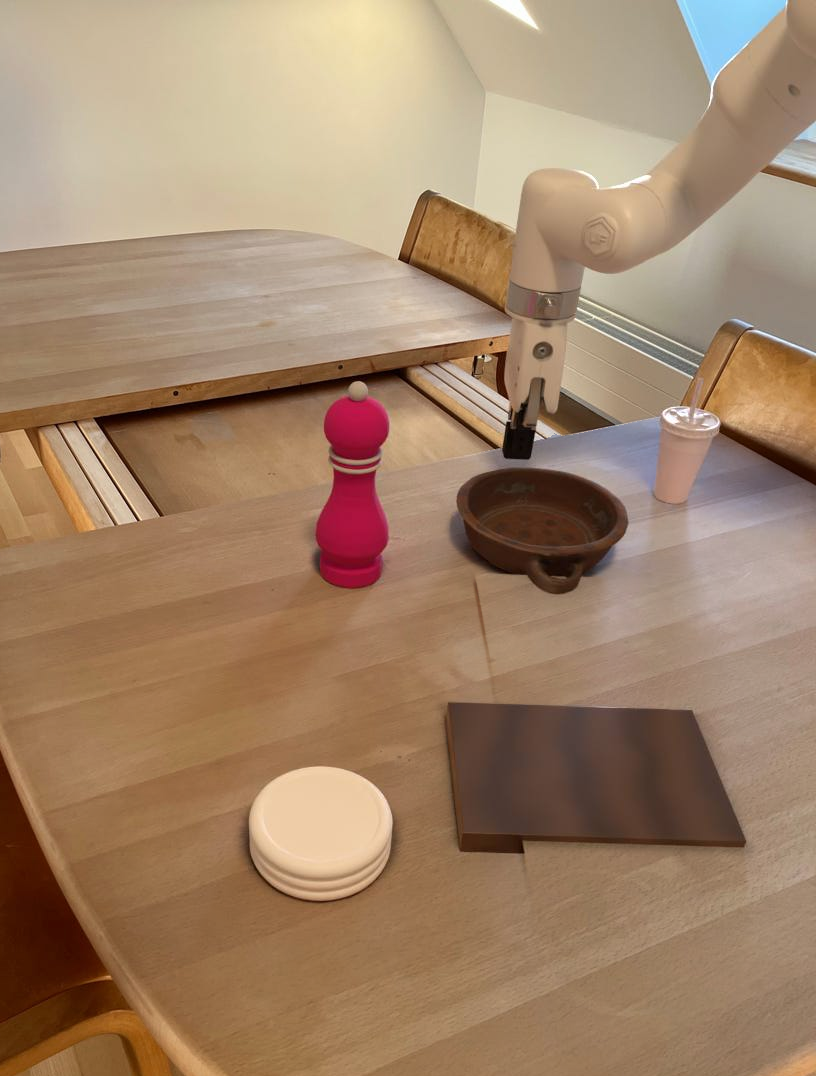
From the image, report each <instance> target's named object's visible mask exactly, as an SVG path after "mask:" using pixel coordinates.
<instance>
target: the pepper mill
mask: <svg viewBox="0 0 816 1076" xmlns="http://www.w3.org/2000/svg"><path fill="white" fill-rule="evenodd" d="M347 394H348V395H345V396H342V397H341V398H338V399H336V400H335V401H334V402H333V403H332V404H331V405H330V406H329V408H328V409H327V411H326V413H325V416H324V420H323V421H324V422H323V432H324V436H325V439H326V440H327V442H328V443H329V444H330V446H329V447H328V454H329V455H328V458H327V459H328V464H329V465H330V466H331V468H332V472H333V480H332V488H331V491H330V495H329V497H328V499H327V501H326V503H325V504H324V506H323V507H322V509H321V512H320V514H319V516H318V519H317V521H316V527H315V535H314V536H315V542H316V544H317V546H318V548H319V549H320V550H321V552H320V555H319V573H320V575H321V576H322V577H323V579H324V580H325V581H327V582H328V583H330V584H332V585H334V586H337V587H340V588H347V589H348V588H349V589H356V588H363V587H367V586H370V585H372V584H374V583H375V582H376V581H378V580H379V579H380V577H381V575H382V570H383V555H382V553H383V552H384V551H385V549H386V548H387V546H388V544H389V539H390V531H389V523H388V520H387V516H386V513H385V510H384V508H383V506H382V504H381V501H380V499H379V496H378V493H377V489H376V488H377V487H376V475H377V470H378V469H379V468H380V467H381V466H382V464H383V459H382V456H383V454H384V452H383V448H382V446H383V445H384V443H385V442H386V441H387V439H388V436H389V433H390V419H389V414H388V412H387V409H386V408H385V407H384V406H383V405H382V403H380V402H379V401H378V400H376V399H375V398H373V397H370V396H369V395H368V394H369V389H368V387H367V385H366V384H365V383H364V382H362V381H360V380H359V381H358V380H357V381H354V382H352V383H351V384H350V385H349V386H348V391H347Z"/></svg>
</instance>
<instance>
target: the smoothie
mask: <svg viewBox="0 0 816 1076" xmlns="http://www.w3.org/2000/svg"><path fill="white" fill-rule="evenodd" d="M703 382H704V378H703V377H698V378H697V380H696V386H695V389H694V393H693V397H692V400H691V404H690V406H673V407H669V408H666V409H664V410H663V411H662V412H661V414H660V415H661V416H660V418H659V426H660V427H661V429H660V435H659V446H658V454H657V462H656V463H657V464H656V470H655V471H656V472H655V480H654V481H655V482H654V488H653V489H654V491H653V496H654V497H655V498H656V499H657V500H659V501H661V502H663V503H666V504H672V505H678V504H679V505H680V504H683V503H685V502H687V500H688V498H689V495H690V493H691V490H692V488H693V485H694V483H695V481H696V478H697V476H698V475H699V471H700V469H701V467H702V465H703V462H704V460H705V458H706V457H707V456H706V455H707V454H708V451H709V449H710V446H711V445H712V442H713V439H714V437H716V436H717V435H718V434H719V433H720V427H721V424H722V423H721V420H720V419H719V417H717V416H716V415H715V414H714V413H711V412H710V411H707V410H704V409H701V408H697V404H698V401H699V398H700V394H701V390H702V386H703V384H704V383H703Z"/></svg>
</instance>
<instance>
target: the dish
mask: <svg viewBox="0 0 816 1076" xmlns="http://www.w3.org/2000/svg"><path fill="white" fill-rule="evenodd" d="M456 508H457V511H458V513H459V515H460V516H461V518H462V522H463V527H464V532H465V534H466V538H467V540H468V542H469V544H470V545H471V547H472V548H473V549H474V551H475V552H476V553H478V554H479V555H480V556H481V557H482V558H484V560H486V561H488V562H489V563H490V564H492V565H493V566H495V567H497V568H499V569H501V570H504V571H507V572H509V573H511V574H514V575H517V576H528V577H529V578H530V580H531V581H532V582H533V584H534V585H536V587H538V588H539V589H540V590H542V591H544V592H545V593H548V594H551V595H563V594H566V593H570V592H572V591H573V590H575V589H576V588H577V587H578V585H579V584H580V581H581V578H582V574H585V573H586V572H588V571H590V570H591V569H593V568H594V567H596V566H597V565H598V564H599V563H600V562H601V561H602V560H603V559H604V558H605V557H606V555H607V554H608V552H609V551H610V550H611V549H612V547H613V546H614V545H616V544H617V543H619V541H621V540H622V538H624V536H625V534H626V533H627V529H628V526H629V515H628V512H627V509H626V506H625V505H624V503H623V502H622V500H621V499H620V498H619V497H617V496H616V495H615V494H613V493H612V492H611V491H610V490H608V489H607V488H606V487H604V486H602V485H601V484H599V483H597V482H595V481H593V480H591V479H588V478H586V477H583V476H581V475H578V474H575V473H571V472H567V471H562V470H556V469H549V468H543V467H542V468H541V467H533V466H532V467H529V466H527V467H526V466H524V467H523V466H521V467H506V468H499V469H495V470H490V471H486V472H485V471H484V472H481V473H479V474H475V475H473V476H472V477H470V478H469V479H468V480H467V481H465V482H464V483H463V484H462V485H461V486H460V487H459V489H458V491H457V493H456ZM558 577H566V578H558Z"/></svg>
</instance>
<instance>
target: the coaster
mask: <svg viewBox="0 0 816 1076" xmlns="http://www.w3.org/2000/svg"><path fill="white" fill-rule="evenodd" d="M393 825H394V821H393V814H392V811H391V807H390V805H389V802H388V800H387V798H386V797H385V796H384V794H383V792H381V790H380V789H379V788H378V787H377V786H375V784H373V783H372V782H371V781H370V780H368V779H367V778H365V777H363V776H361V775H360V774H357V773H355V772H353V771H351V770H347V769H343V768H340V767H333V766H323V765H322V766H320V765H318V766H307V767H301V768H298V769H293V770H291V771H288V772H285V773H283V774H281V775H279V776H277V777H275V778H274V779H273V780H271V781H270V782H269V783H267V784H266V785H265V786H263V788H262V789H261V791H259V793H258V794H257V795H256V797H255V799H254V801H253V803H252V805H251V807H250V811H249V815H248V831H249V832H248V836H249V837H248V838H249V852H250V856H251V859H252V861H253V864H254V866H255V868H256V869H257V871H258V872H259V873H260V875H261V876H262V877H263V878H264V880H265V881H267V882H268V884H269V885H271V886H273V887H274V888H275V889H277V890H278V891H280V892H281V893H284V894H286V895H288V896H292V897H293V898H297V899H300V900H301V899H302V900H307V901H318V902H322V901H323V902H324V901H325V902H326V901H335V900H340V899H344V898H346V897H350V896H352V895H355V894H357V893H359V892H361V891H362V890H364V889H366V888H367V887H369V886H370V885H371V884H372V883H374V881H375V880H376V879H377V878H378V877H379V876H380V874H382V872H383V870H384V869H385V867H386V865H387V863H388V860H389V857H390V854H391V847H392V837H393V833H392V832H393Z"/></svg>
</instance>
